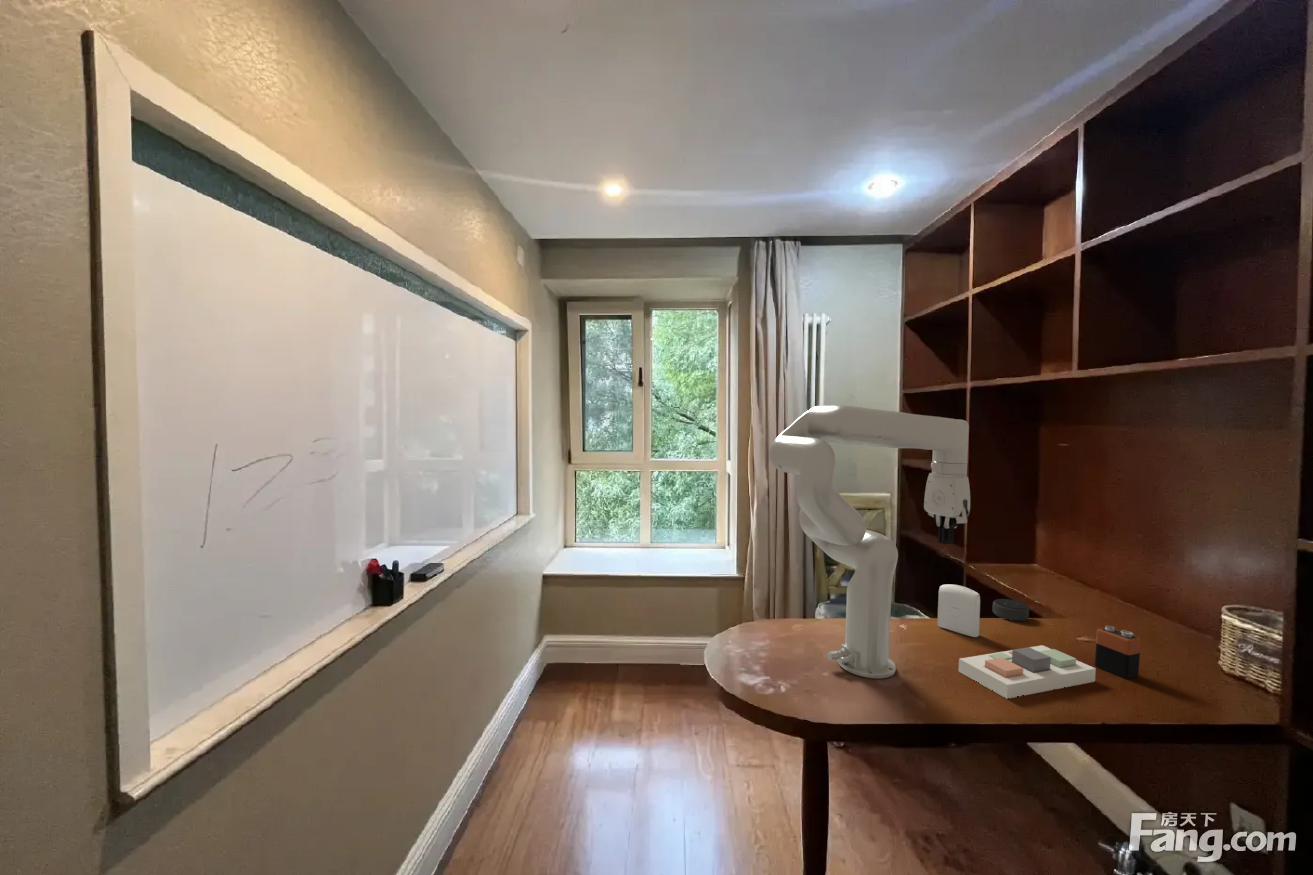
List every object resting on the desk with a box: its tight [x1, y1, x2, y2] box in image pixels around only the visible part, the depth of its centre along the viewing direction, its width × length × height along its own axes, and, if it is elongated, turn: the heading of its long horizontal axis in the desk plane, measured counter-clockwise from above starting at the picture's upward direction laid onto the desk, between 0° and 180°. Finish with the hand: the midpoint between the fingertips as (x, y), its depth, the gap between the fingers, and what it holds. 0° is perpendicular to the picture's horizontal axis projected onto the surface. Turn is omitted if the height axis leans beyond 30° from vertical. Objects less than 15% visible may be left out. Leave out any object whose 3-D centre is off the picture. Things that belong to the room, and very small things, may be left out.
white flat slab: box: [958, 645, 1097, 699], centre depth 120 cm, size 26×12×3 cm, turn 107°
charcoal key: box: [1011, 646, 1051, 673], centre depth 119 cm, size 5×5×3 cm
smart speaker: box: [992, 598, 1030, 622], centre depth 156 cm, size 9×9×4 cm
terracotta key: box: [985, 658, 1023, 678], centre depth 117 cm, size 5×5×3 cm
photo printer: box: [937, 583, 981, 638], centre depth 145 cm, size 10×4×12 cm, turn 39°
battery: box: [1094, 625, 1142, 680], centre depth 123 cm, size 4×7×10 cm, turn 20°
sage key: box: [1038, 648, 1077, 668], centre depth 122 cm, size 5×5×3 cm
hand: (945, 542), depth 132 cm, fingers closed
